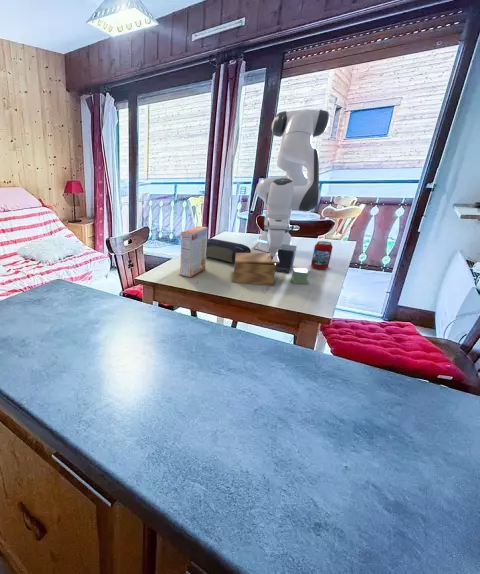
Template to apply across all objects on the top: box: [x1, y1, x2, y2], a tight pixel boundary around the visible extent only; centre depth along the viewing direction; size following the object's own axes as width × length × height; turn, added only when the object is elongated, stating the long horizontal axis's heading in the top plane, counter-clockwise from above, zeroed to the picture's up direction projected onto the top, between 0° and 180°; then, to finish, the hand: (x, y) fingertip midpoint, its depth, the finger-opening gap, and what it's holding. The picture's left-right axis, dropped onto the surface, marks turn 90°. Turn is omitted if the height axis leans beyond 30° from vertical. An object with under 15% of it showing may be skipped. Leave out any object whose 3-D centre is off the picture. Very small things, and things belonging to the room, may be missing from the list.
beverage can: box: [310, 240, 333, 270], centre depth 150 cm, size 7×7×12 cm
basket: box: [232, 255, 276, 286], centre depth 143 cm, size 16×13×9 cm
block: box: [290, 267, 310, 285], centre depth 138 cm, size 5×5×5 cm
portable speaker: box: [206, 238, 252, 264], centre depth 169 cm, size 25×10×10 cm, turn 36°
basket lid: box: [234, 247, 279, 264], centre depth 140 cm, size 17×13×5 cm
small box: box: [275, 244, 297, 273], centre depth 152 cm, size 11×6×10 cm, turn 143°
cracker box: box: [179, 225, 208, 278], centre depth 152 cm, size 14×6×21 cm, turn 134°
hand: (271, 253), depth 138 cm, fingers closed on basket lid, 6 cm apart
